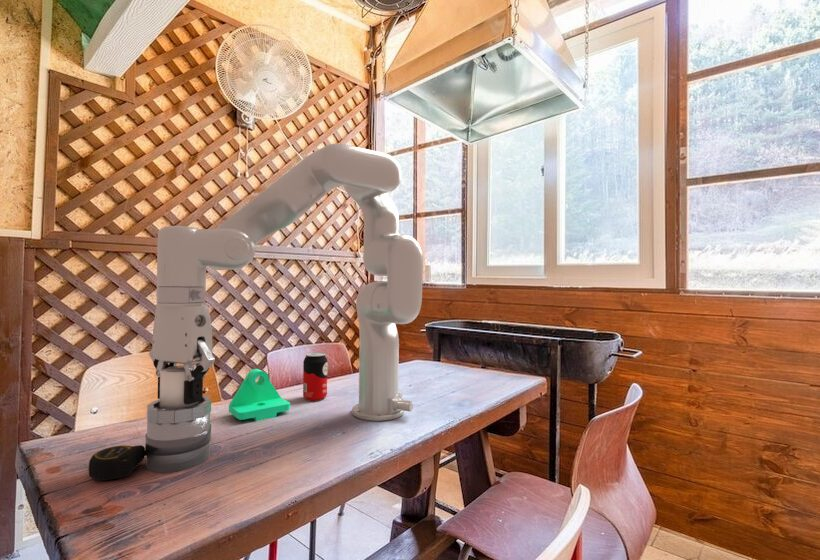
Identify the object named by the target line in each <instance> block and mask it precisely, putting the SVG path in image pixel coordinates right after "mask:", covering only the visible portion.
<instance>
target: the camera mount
mask: <svg viewBox="0 0 820 560" xmlns="http://www.w3.org/2000/svg"><path fill="white" fill-rule="evenodd" d="M257 378H259V379H258V380H257ZM290 410H291V402H290V401H288V400H286V399H284V398H283V397H281V395H280V394H279V392H278V391H277V389H276V388H275V387H274V385H273V383H272V382H271V379H270V376H269V374H268V373H267V372H265V371H263V370H261V369H259V368H254V369H253V368H252V369H251V370H249V372H247V374H246V376H245V377H244V379H243V381H242V382H241V384H240V386H239V388H238V390H237V391H236V392H235V394H234V396H233V398H232V399H231V401H230V403H229V404H228V412H229V414H231V415H232V416H234V418H236V419H237V420H240V421H242V420H243V421H244V420H248V419H253V420H254V421H255V422H258V421H264V420H268V419H272V418H276V417H277V414H279V413H282V412H286V411H290Z"/></svg>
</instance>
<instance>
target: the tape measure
mask: <svg viewBox="0 0 820 560" xmlns="http://www.w3.org/2000/svg"><path fill="white" fill-rule="evenodd" d="M145 457H147V452H146V451H145V446H144V445H142V444H140V445H134V446H132V445H115V446H111V447H106V448H103V449H101V450H99V451H97V452H95V453H93V454H92V455H91V458H90V459H89V461H88V468H87V469H88V470H87V471H88V476H89V477H90V478H91V479H92V480H94V481H95V480H97V481H108V480H113V479H119V478H124V477H127V476H129V475H130V474H131V473H133V471H134V470H135V468H136V467H138V466H139V465H140V464H141V463H142V462H143V460H145Z"/></svg>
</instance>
